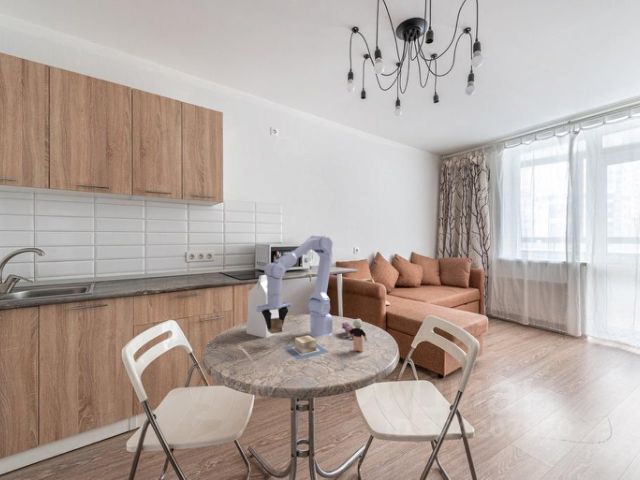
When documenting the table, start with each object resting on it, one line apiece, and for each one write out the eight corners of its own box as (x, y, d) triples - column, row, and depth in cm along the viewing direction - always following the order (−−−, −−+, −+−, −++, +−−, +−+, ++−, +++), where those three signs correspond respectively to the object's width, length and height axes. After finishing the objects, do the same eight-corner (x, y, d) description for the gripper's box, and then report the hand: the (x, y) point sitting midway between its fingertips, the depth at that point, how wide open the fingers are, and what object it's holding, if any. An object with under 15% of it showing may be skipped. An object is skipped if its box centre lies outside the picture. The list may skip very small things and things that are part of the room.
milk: (264, 326, 141) (264, 272, 140) (283, 330, 135) (283, 274, 134) (246, 333, 130) (246, 275, 130) (266, 337, 125) (265, 277, 124)
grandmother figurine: (368, 351, 110) (368, 318, 110) (366, 355, 107) (366, 321, 106) (348, 348, 113) (348, 316, 113) (346, 352, 109) (346, 319, 109)
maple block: (308, 345, 115) (308, 335, 115) (316, 350, 110) (316, 340, 110) (295, 348, 112) (295, 338, 112) (302, 353, 107) (302, 343, 106)
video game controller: (345, 335, 132) (339, 322, 132) (354, 330, 133) (347, 317, 132) (350, 343, 122) (342, 329, 122) (359, 338, 123) (352, 324, 122)
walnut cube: (278, 328, 118) (277, 317, 118) (282, 331, 114) (282, 320, 114) (267, 330, 116) (267, 319, 115) (271, 333, 112) (271, 322, 112)
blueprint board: (312, 342, 120) (312, 340, 120) (329, 353, 108) (329, 351, 108) (283, 348, 113) (283, 346, 113) (298, 361, 102) (298, 359, 102)
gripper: (260, 297, 107) (260, 333, 108) (295, 293, 115) (295, 327, 115) (254, 294, 113) (254, 328, 114) (288, 290, 121) (288, 322, 121)
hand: (274, 327), depth 115 cm, fingers closed on walnut cube, 4 cm apart
